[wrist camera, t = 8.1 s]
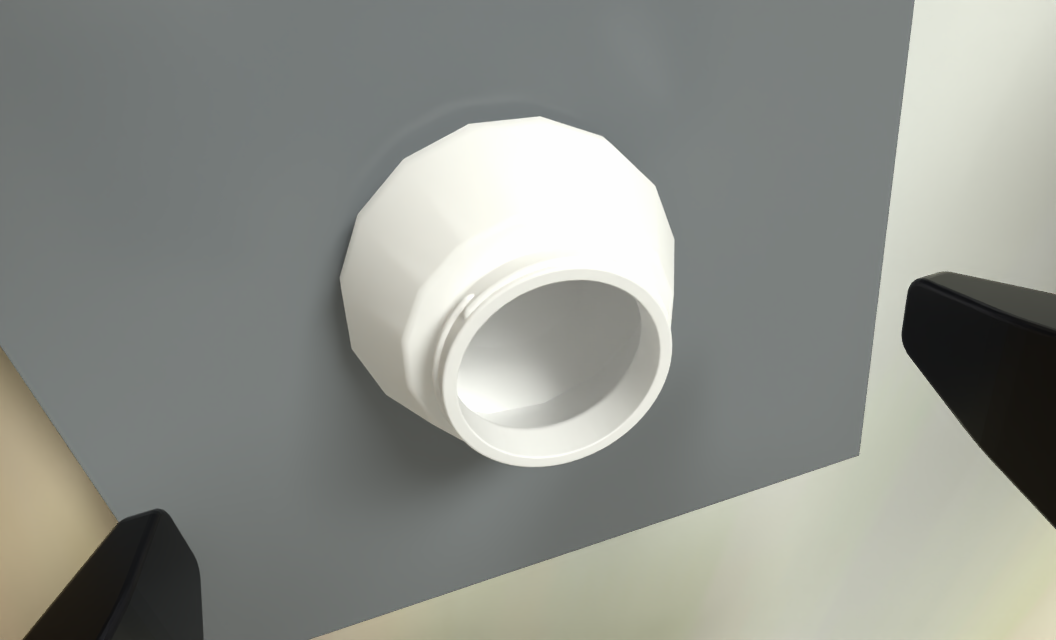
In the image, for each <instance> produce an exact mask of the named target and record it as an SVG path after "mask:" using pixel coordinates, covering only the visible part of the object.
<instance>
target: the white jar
mask: <svg viewBox="0 0 1056 640" xmlns="http://www.w3.org/2000/svg"><path fill="white" fill-rule="evenodd" d="M340 284H341V291H342V297H343V302H344V308H345V314H346V320H347V325H348V331H349V337H350V342H351V348H352V350H353V351H354V353H355V354H356V355H357V357H358V358H359V359H360V361H361V362H362V363H363V365H364V366H365V367H366V369H367V370H368V371H369V373H370V374H371V376H372V377H373V378H374V380H375V381H376V382H377V384H378V385H379V386H380V388H381V389H382V390H383V392H384V393H385V394H386V395H387V396H389V397H390V398H392V399H393V400H395V401H397V402H398V403H400V404H401V405H403V406H404V407H406V408H408V409H409V410H411V411H412V412H414V413H415V414H417V415H419V416H420V417H422V418H423V419H425V420H426V421H428V422H430V423H431V424H433V425H435V426H436V427H438V428H440V429H442V430H444V431H446V432H447V433H449V434H451V435H453V436H455V437H457V438H458V439H460V440H462V441H464V442H465V443H466V444H467V445H469V446H470V447H471V448H472V449H474V450H475V451H477V452H478V453H480V454H482V455H483V456H486V457H488V458H490V459H492V460H495V461H498V462H500V463H504V464H508V465H514V466H521V467H546V466H554V465H560V464H564V463H568V462H572V461H575V460H578V459H581V458H584V457H586V456H589V455H591V454H593V453H595V452H597V451H599V450H601V449H603V448H605V447H606V446H608V445H610V444H611V443H613V442H614V441H616V440H617V439H619V438H620V437H621V436H623V435H624V434H625V433H627V432H628V431H629V430H630V429H631V428H632V427H633V426H634V425H635V424H636V423H637V422H638V421H639V420H640V419H641V418H642V417H643V416H644V415H645V414H646V412H647V411H648V410H649V409H650V407H651V406H652V404H653V403H654V401H655V400H656V398H657V396H658V395H659V393H660V391H661V389H662V387H663V385H664V383H665V380H666V377H667V374H668V371H669V367H670V363H671V356H672V334H671V320H672V309H673V298H674V237H673V234H672V231H671V228H670V226H669V223H668V220H667V217H666V214H665V212H664V209H663V206H662V203H661V200H660V198H659V195H658V192H657V189H656V186H655V185H654V184H653V183H652V182H651V181H650V180H649V179H648V178H647V177H646V176H645V175H643V174H642V173H641V172H640V171H639V170H638V169H637V168H636V167H635V166H634V165H633V164H632V163H631V162H630V161H629V160H628V159H627V158H626V157H625V156H624V155H623V154H621V153H620V152H619V151H618V150H617V149H616V148H615V147H614V146H613V145H612V144H611V143H610V142H609V141H607V140H606V139H605V138H604V137H603V136H600V135H597V134H594V133H591V132H588V131H585V130H581V129H578V128H575V127H572V126H569V125H566V124H563V123H560V122H556V121H553V120H550V119H547V118H544V117H541V116H538V117H529V118H519V119H510V120H500V121H491V122H481V123H472V124H468V125H466V126H464V127H462V128H460V129H458V130H456V131H455V132H453V133H451V134H449V135H447V136H445V137H443V138H441V139H440V140H438V141H436V142H434V143H432V144H430V145H428V146H427V147H425V148H423V149H421V150H419V151H417V152H415V153H414V154H412V155H410V156H408V157H406V158H404V159H403V160H402V161H401V162H400V164H399V165H398V166H397V167H396V168H395V170H394V171H393V172H392V173H391V174H390V176H389V177H388V178H387V179H386V181H385V182H384V183H383V184H382V185H381V187H380V188H379V189H378V190H377V191H376V193H375V194H374V195H373V196H372V197H371V199H370V200H369V201H368V202H367V204H366V205H365V206H364V207H363V208H362V210H361V211H360V212H359V213H358V215H357V218H356V222H355V225H354V229H353V232H352V236H351V239H350V243H349V246H348V250H347V253H346V257H345V260H344V264H343V267H342V271H341V274H340Z"/></svg>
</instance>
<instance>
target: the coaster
mask: <svg viewBox="0 0 1056 640" xmlns="http://www.w3.org/2000/svg"><path fill="white" fill-rule="evenodd" d="M914 1H915V0H0V346H1V347H2V349H3V350H4V352H5V353H6V355H7V356H8V358H9V359H10V361H11V362H12V364H13V365H14V367H15V368H16V370H17V371H18V373H19V374H20V376H21V377H22V379H23V380H24V382H25V383H26V385H27V386H28V388H29V389H30V391H31V392H32V394H33V395H34V397H35V398H36V400H37V401H38V403H39V404H40V406H41V407H42V409H43V410H44V412H45V413H46V415H47V416H48V418H49V419H50V421H51V422H52V423H53V425H54V426H55V428H56V429H57V431H58V432H59V434H60V435H61V437H62V438H63V440H64V441H65V443H66V444H67V446H68V447H69V449H70V450H71V452H72V453H73V455H74V456H75V458H76V459H77V461H78V462H79V464H80V465H81V467H82V468H83V470H84V471H85V473H86V474H87V476H88V477H89V479H90V480H91V482H92V483H93V485H94V486H95V488H96V489H97V491H98V492H99V494H100V495H101V497H102V498H103V500H104V501H105V502H106V504H107V505H108V507H109V508H110V510H111V511H112V513H113V514H114V516H115V517H116V519H117V520H118V522H120V521H121V520H122V519H124V518H126V517H129V516H132V515H136V514H139V513H142V512H146V511H149V510H152V509H156V508H159V509H163V510H165V511H166V512H167V513H168V514H169V515H170V516H171V518H172V519H173V521H174V523H175V524H176V526H177V527H178V529H179V531H180V532H181V534H182V536H183V537H184V539H185V541H186V542H187V544H188V546H189V547H190V549H191V550H192V552H193V554H194V556H195V557H196V560H197V563H198V566H199V570H200V577H201V594H202V613H203V632H204V640H309V639H312V638H315V637H318V636H321V635H324V634H327V633H330V632H333V631H336V630H339V629H342V628H345V627H348V626H351V625H354V624H357V623H360V622H363V621H366V620H369V619H372V618H375V617H378V616H381V615H384V614H387V613H390V612H393V611H396V610H399V609H402V608H405V607H408V606H411V605H414V604H417V603H420V602H423V601H426V600H429V599H432V598H435V597H438V596H441V595H444V594H447V593H450V592H453V591H456V590H459V589H462V588H464V587H467V586H470V585H473V584H476V583H479V582H482V581H485V580H488V579H491V578H494V577H497V576H500V575H503V574H506V573H509V572H512V571H515V570H518V569H521V568H524V567H527V566H530V565H533V564H536V563H539V562H542V561H545V560H548V559H551V558H554V557H557V556H560V555H563V554H566V553H569V552H572V551H575V550H578V549H581V548H584V547H587V546H590V545H593V544H596V543H599V542H602V541H605V540H608V539H611V538H614V537H617V536H620V535H623V534H626V533H629V532H632V531H635V530H638V529H641V528H644V527H647V526H649V525H652V524H655V523H658V522H661V521H664V520H667V519H670V518H673V517H676V516H679V515H682V514H685V513H688V512H691V511H694V510H697V509H700V508H703V507H706V506H709V505H712V504H715V503H718V502H721V501H724V500H727V499H730V498H733V497H736V496H739V495H742V494H745V493H748V492H751V491H754V490H757V489H760V488H763V487H766V486H769V485H772V484H775V483H778V482H781V481H784V480H787V479H790V478H793V477H796V476H799V475H802V474H805V473H808V472H811V471H814V470H817V469H820V468H823V467H826V466H829V465H831V464H834V463H837V462H840V461H843V460H846V459H849V458H852V457H855V456H858V455H859V452H860V443H861V435H862V427H863V419H864V411H865V402H866V394H867V386H868V378H869V370H870V361H871V353H872V345H873V337H874V329H875V320H876V312H877V304H878V296H879V288H880V279H881V271H882V263H883V255H884V247H885V238H886V230H887V222H888V214H889V206H890V197H891V189H892V181H893V173H894V165H895V156H896V148H897V140H898V132H899V124H900V115H901V107H902V99H903V91H904V83H905V74H906V66H907V58H908V50H909V42H910V33H911V25H912V17H913V9H914ZM538 116H541V117H544V118H547V119H550V120H553V121H556V122H560V123H563V124H566V125H569V126H572V127H575V128H578V129H581V130H585V131H588V132H591V133H594V134H597V135H600V136H603V137H604V138H605V139H606V140H607V141H609V142H610V143H611V144H612V145H613V146H614V147H615V148H616V149H617V150H618V151H619V152H620V153H621V154H623V155H624V156H625V157H626V158H627V159H628V160H629V161H630V162H631V163H632V164H633V165H634V166H635V167H636V168H637V169H638V170H639V171H640V172H641V173H642V174H643V175H645V176H646V177H647V178H648V179H649V180H650V181H651V182H652V183H653V184H654V185H655V186H656V189H657V192H658V195H659V198H660V200H661V203H662V206H663V209H664V212H665V214H666V217H667V220H668V223H669V226H670V228H671V231H672V234H673V237H674V298H673V309H672V320H671V334H672V356H671V363H670V367H669V371H668V374H667V377H666V380H665V383H664V385H663V387H662V389H661V391H660V393H659V395H658V396H657V398H656V400H655V401H654V403H653V404H652V406H651V407H650V409H649V410H648V411H647V412H646V414H645V415H644V416H643V417H642V418H641V419H640V420H639V421H638V422H637V423H636V424H635V425H634V426H633V427H632V428H631V429H630V430H629V431H628V432H627V433H625V434H624V435H623V436H621V437H620V438H619V439H617V440H616V441H614V442H613V443H611V444H610V445H608V446H606V447H605V448H603V449H601V450H599V451H597V452H595V453H593V454H591V455H589V456H586V457H584V458H581V459H578V460H575V461H572V462H568V463H564V464H560V465H554V466H546V467H521V466H514V465H508V464H504V463H500V462H498V461H495V460H492V459H490V458H488V457H486V456H483V455H482V454H480V453H478V452H477V451H475V450H474V449H472V448H471V447H470V446H469V445H467V444H466V443H465V442H464V441H462V440H460V439H458V438H457V437H455V436H453V435H451V434H449V433H447V432H446V431H444V430H442V429H440V428H438V427H436V426H435V425H433V424H431V423H430V422H428V421H426V420H425V419H423V418H422V417H420V416H419V415H417V414H415V413H414V412H412V411H411V410H409V409H408V408H406V407H404V406H403V405H401V404H400V403H398V402H397V401H395V400H393V399H392V398H390V397H389V396H387V395H386V394H385V393H384V392H383V390H382V389H381V388H380V386H379V385H378V384H377V382H376V381H375V380H374V378H373V377H372V376H371V374H370V373H369V371H368V370H367V369H366V367H365V366H364V365H363V363H362V362H361V361H360V359H359V358H358V357H357V355H356V354H355V353H354V351H353V350H352V348H351V342H350V337H349V331H348V325H347V320H346V314H345V308H344V302H343V297H342V291H341V284H340V274H341V271H342V267H343V264H344V260H345V257H346V253H347V250H348V246H349V243H350V239H351V236H352V232H353V229H354V225H355V222H356V218H357V215H358V213H359V212H360V211H361V210H362V208H363V207H364V206H365V205H366V204H367V202H368V201H369V200H370V199H371V197H372V196H373V195H374V194H375V193H376V191H377V190H378V189H379V188H380V187H381V185H382V184H383V183H384V182H385V181H386V179H387V178H388V177H389V176H390V174H391V173H392V172H393V171H394V170H395V168H396V167H397V166H398V165H399V164H400V162H401V161H402V160H403V159H404V158H406V157H408V156H410V155H412V154H414V153H415V152H417V151H419V150H421V149H423V148H425V147H427V146H428V145H430V144H432V143H434V142H436V141H438V140H440V139H441V138H443V137H445V136H447V135H449V134H451V133H453V132H455V131H456V130H458V129H460V128H462V127H464V126H466V125H468V124H472V123H481V122H491V121H500V120H510V119H519V118H529V117H538Z"/></svg>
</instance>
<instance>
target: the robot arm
mask: <svg viewBox="0 0 1056 640" xmlns="http://www.w3.org/2000/svg"><path fill="white" fill-rule="evenodd" d="M902 342H903V345H904V348H905V350H906V352H907V354H908V355H909V357H910V358H911V359H912V360H913V362H914V363H915V364H916V366H917V367H918V368H919V370H920V371H921V372H922V374H923V375H924V376H925V377H926V379H927V380H928V381H929V383H930V384H931V385H932V387H933V388H934V389H935V391H936V392H937V393H938V394H939V396H940V397H941V398H942V400H943V401H944V402H945V404H946V405H947V406H948V408H949V409H950V410H951V411H952V413H953V414H954V415H955V417H956V418H957V419H958V421H959V422H960V423H961V425H962V426H963V427H964V428H965V430H966V431H967V432H968V434H969V435H970V436H971V437H972V438H973V440H974V441H975V442H976V443H977V445H978V446H979V447H980V448H981V449H982V450H983V452H984V453H985V454H986V455H987V456H988V457H989V458H990V459H991V461H992V462H993V463H994V464H995V465H996V466H997V467H998V468H999V469H1000V470H1001V471H1002V472H1003V473H1004V474H1005V476H1006V477H1007V478H1008V479H1009V480H1010V481H1011V482H1012V483H1013V484H1014V485H1015V486H1016V487H1017V488H1018V489H1019V490H1020V492H1021V493H1022V494H1023V495H1024V496H1025V497H1026V498H1027V499H1028V500H1029V501H1030V502H1031V503H1032V504H1033V505H1034V506H1035V508H1036V509H1037V510H1038V511H1039V512H1040V513H1041V514H1042V515H1043V516H1044V517H1045V518H1046V519H1047V520H1048V521H1049V522H1050V524H1051V525H1052V526H1053V527H1054V528H1055V529H1056V294H1052V293H1047V292H1043V291H1038V290H1033V289H1028V288H1024V287H1019V286H1014V285H1010V284H1005V283H1000V282H995V281H991V280H986V279H981V278H976V277H972V276H967V275H962V274H958V273H953V272H939V273H935V274H932V275H928V276H925V277H922V278H919V279H916V280H915V281H913V282H912V284H911V285H910V287H909V289H908V293H907V299H906V306H905V313H904V320H903V327H902ZM22 640H204V632H203V613H202V594H201V577H200V570H199V566H198V563H197V560H196V557H195V556H194V554H193V552H192V550H191V549H190V547H189V546H188V544H187V542H186V541H185V539H184V537H183V536H182V534H181V532H180V531H179V529H178V527H177V526H176V524H175V523H174V521H173V519H172V518H171V516H170V515H169V514H168V513H167V512H166V511H165V510H163V509H159V508H156V509H152V510H149V511H146V512H142V513H139V514H136V515H132V516H129V517H126V518H124V519H122V520H121V521H120V522H119V523H118V524H117V525H116V526H115V527H114V528H113V530H112V531H111V532H110V533H109V534H108V536H107V537H106V538H105V539H104V541H103V542H102V543H101V544H100V545H99V547H98V548H97V549H96V550H95V552H94V553H93V554H92V555H91V556H90V558H89V559H88V560H87V561H86V563H85V564H84V565H83V566H82V567H81V569H80V570H79V571H78V572H77V573H76V575H75V576H74V577H73V578H72V580H71V581H70V582H69V583H68V584H67V586H66V587H65V588H64V589H63V591H62V592H61V593H60V594H59V595H58V597H57V598H56V599H55V600H54V602H53V603H52V604H51V605H50V606H49V608H48V609H47V610H46V611H45V613H44V614H43V615H42V616H41V617H40V619H39V620H38V621H37V622H36V624H35V625H34V626H33V627H32V628H31V630H30V631H29V632H28V633H27V635H26V636H25V637H24V638H23V639H22Z"/></svg>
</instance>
